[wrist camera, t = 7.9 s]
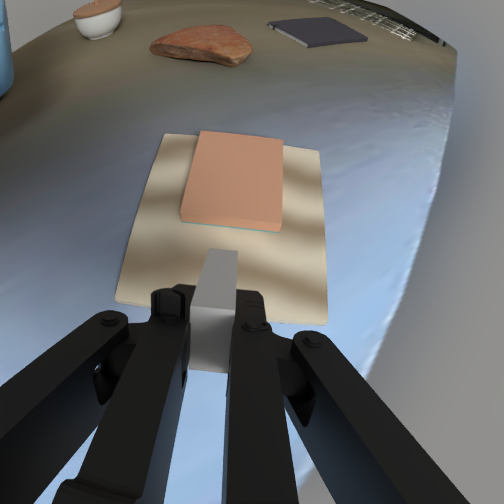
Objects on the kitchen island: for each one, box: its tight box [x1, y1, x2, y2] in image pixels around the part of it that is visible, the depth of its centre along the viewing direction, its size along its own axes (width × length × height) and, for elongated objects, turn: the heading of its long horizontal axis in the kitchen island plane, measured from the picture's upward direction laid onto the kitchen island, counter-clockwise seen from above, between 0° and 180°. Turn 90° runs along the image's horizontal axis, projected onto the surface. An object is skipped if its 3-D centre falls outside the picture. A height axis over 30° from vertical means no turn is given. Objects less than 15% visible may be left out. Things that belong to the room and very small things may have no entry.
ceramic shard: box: [150, 25, 253, 67], centre depth 44 cm, size 15×6×15 cm
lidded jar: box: [73, 0, 122, 40], centre depth 46 cm, size 11×11×9 cm
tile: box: [180, 131, 283, 233], centre depth 30 cm, size 2×9×11 cm
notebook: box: [269, 17, 368, 48], centre depth 56 cm, size 13×2×21 cm
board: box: [115, 134, 328, 326], centre depth 30 cm, size 20×18×1 cm
